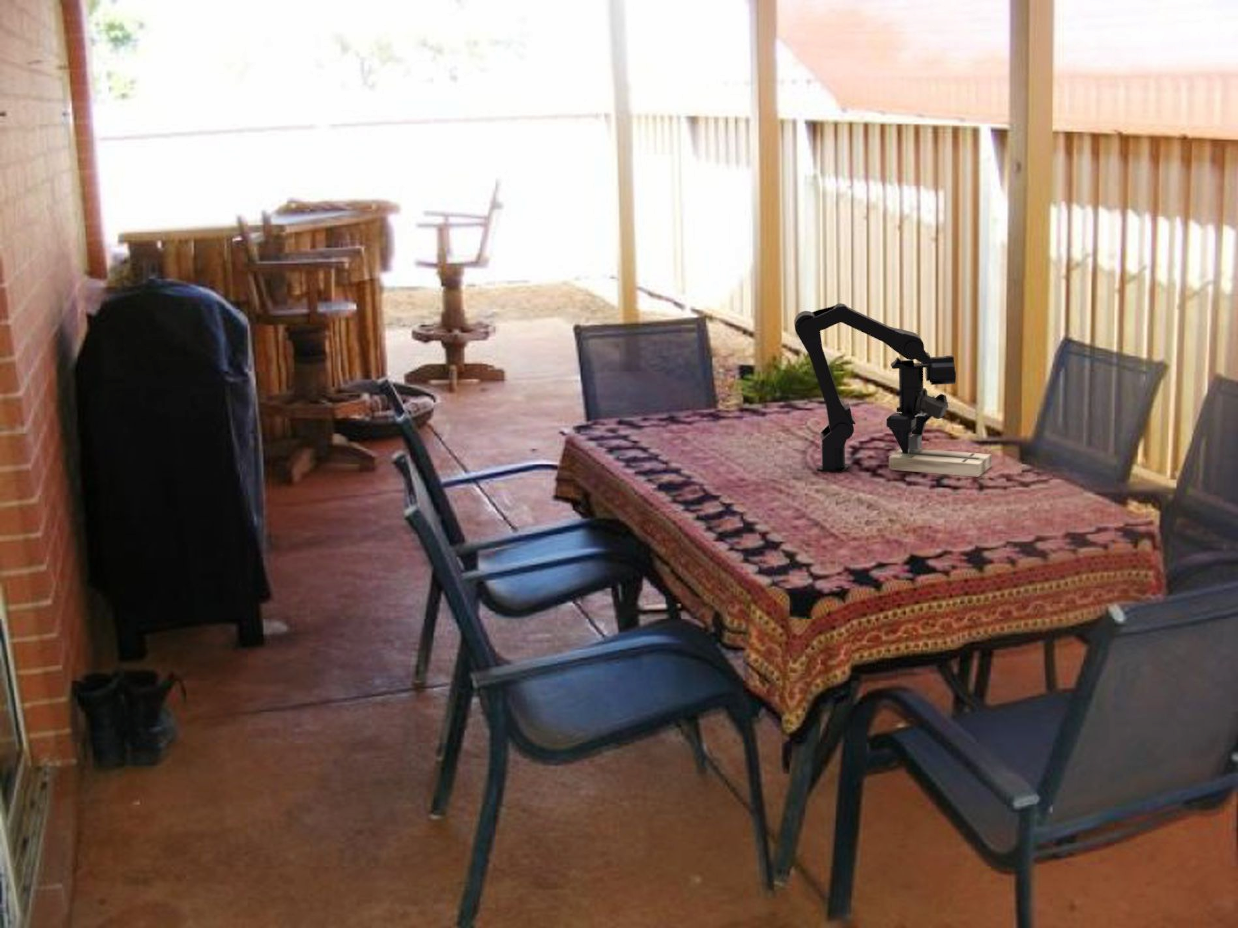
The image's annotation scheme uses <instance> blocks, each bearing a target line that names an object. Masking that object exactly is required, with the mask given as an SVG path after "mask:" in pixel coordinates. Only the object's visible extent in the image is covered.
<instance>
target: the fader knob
mask: <svg viewBox="0 0 1238 928" xmlns="http://www.w3.org/2000/svg"><path fill="white" fill-rule="evenodd" d="M922 438H923V436H922V435H918V434H912V433H911V435H910V443H909V453H914V452H915V450H918V449H922V447H923V439H922Z"/></svg>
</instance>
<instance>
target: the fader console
mask: <svg viewBox="0 0 1238 928" xmlns="http://www.w3.org/2000/svg"><path fill="white" fill-rule="evenodd" d="M991 467H992V454H991V453H980V452H979V453H978V452H967V451H966V452H964V451H956V450H954V451H952V450H941V449H940V450H939V449H925V448H920V449H918V450H915V452H914V453H909V449H908V453H907V454H906V453H903V452H902V450H901V448H900V449H898V450H897V451H896V452H895V453H893V454H892V455H890V456H888V470H892V471H902V472H904V471H905V472H914V473H915V472H916V473H927V474H928V473H929V474H940V475H941V474H942V475H951V476H953V475H954V476H961V477H962V476H963V477H965V476H967V477H977V478H979V477H980V476H982V474H984V473H985V472H986V471H987V470H989V469H990V468H991Z"/></svg>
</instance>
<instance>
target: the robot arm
mask: <svg viewBox="0 0 1238 928" xmlns="http://www.w3.org/2000/svg"><path fill="white" fill-rule="evenodd" d="M840 323H842V324H844V325H846V326H848V327H851V328H853V329H855V330H857V331H859V332H861V333H863V334H866V335H868V336H870V337H871V338H873V339H876V340H878V341H881V342H883V343H884V344H886V345H887V346H888V347H890V348H891V349H892V350H893V351H894V352H896V353H898V354H899V355H900V356H902V357H903V358H905V359H904V360H902V359H900V358H899V357H898V356H897V357H895V359H894V361H892V362H891V363H890V367H891V368H892V369H894V370H898V390H896V392H895V393H896V396H898V398H899V399H898V405H899V406H897V407H896V412H893V413H892V414H890V415H889V416H888V417H887V418H886V428H889V430H890V431H891V432H892V434H893V436H894V437H895V439H896V442H897V444H898V446H899V448H900V449H901V450H902V452H903V453H906V454H907V453H908V449H909V443H910V435H911V434H918V435H922V437H923V435H924V431H925V428H926V424H927V423H928V421H929V420H930V419H931V418H933V419H937V420H939V419H940V420H941V418H942V417H944V416H945V414H946V411H947V409H948V408H949V402H948V398H947V395H946V394H943V393H939V394H938V395H937V396H936V397H935V396H934V395H932V396H930V395H928V390H927V388H926V387H925V388H924V375H925V381H926V382H929V384H930V386H935V385H936V386H941V385H955V384H956V381H957V377H956V376H957V371H956V369H955V367H956V366H955V358H954V356H953V355H951V354H950V355H945V356H931V355H930V354H929V352H928V351H927V352H926V350H925V344H924V342H923V340H922V337H920V336H919V334H917V333H916V332H914V331H909V330H907V329H902V328H897V327H893V326H890V325H887V324H885V323H882V322H880V321H878V320H876V319H875V318H872V317H870V316H868V315H866V314H863V313H861V312H859V311H857V310H855V309H854V308H851V307H849V306H847V304H845V303H836V304H835V305H833V306H832V305H831V306H828V307H825V308H820V309H817V310H813V311H811V310H809V311H808V310H804V311H801V312H798V314H797V315H796V316H795V318H794V321H793V325H794V329H795V332H796V334H797V337H798V338H799V340H800V342H801V344H802V345H803V347H804V349H805V350H806V352H807V354H808V357H809V360H810V362H811V366H812V368H813V371H814V374H815V378H816V381H817V383H818V386H819V389H820V392H821V394H822V397H823V401H824V403H825V410H826V417H827V422H828V424H827V425H826V426H825V428H824V429H822V430H821V431H820V433H819V434H820V440H821V444H820V446H821V447H820V449H821V465H820V466H819V467H816V471H818V472H829V473H830V472H831V473H840V474H841V473H843V472H844V471H846V470H847V469H849V468H850V467H851V464H849V463H846V442H847V440H849V439H850V438H852V436H853V434H854V431H855V429H854V428H855V427H854V425H856V421H855V418H854V416H853V414H852V409H851V405H850V404H849V403H846V404H843V402H842V400H841V398H840V395H839V393H838V391H837V387H836V385H835V381H834V378H833V375H832V372H831V369H830V366H829V364H828V361H827V357H826V354H825V352H824V349H823V343H822V335H821V334H822V333H821V332H822V331H823V330H826V329H828V328H831V327H833V326H835V325H837V324H840ZM906 359H907V360H906ZM914 360H916V361H918V363H917V362H915V361H914ZM924 368H925V369H924ZM924 371H925V373H924Z"/></svg>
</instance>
